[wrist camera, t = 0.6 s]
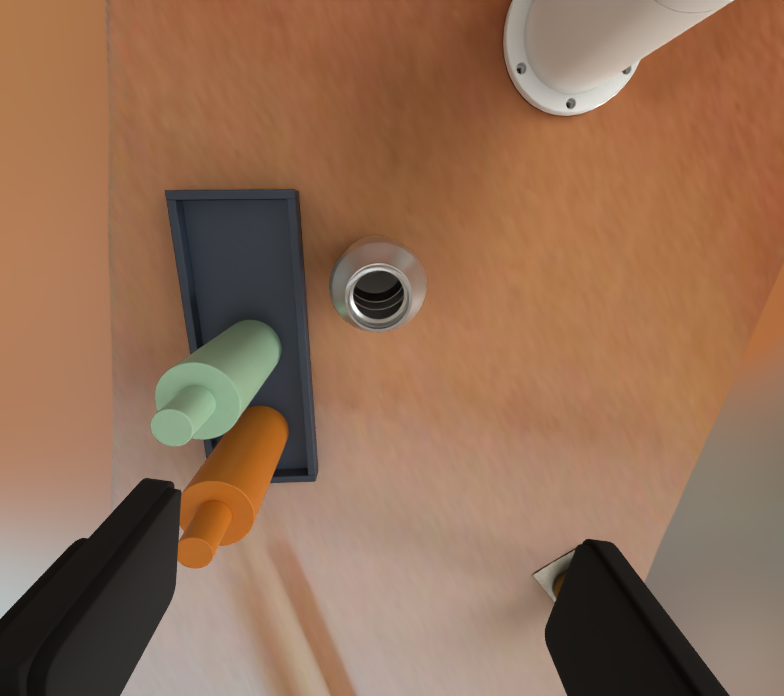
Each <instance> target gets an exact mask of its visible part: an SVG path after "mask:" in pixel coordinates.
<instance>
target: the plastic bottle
mask: <svg viewBox="0 0 784 696" xmlns="http://www.w3.org/2000/svg"><path fill="white" fill-rule="evenodd" d="M329 290H330V296H331V300H332V302H333V305H334V307H335V309H336V310H337V312H338V314H339V315H340V316H341V317H342V318H343V319H344V320H345V321H346V322H348V323H349V324H350V325H352V326H353V327H356V328H358V329H360V330H363V331H367V332H376V333H381V332H389V331H392V330H395V329H398V328H400V327H401V326H403V325H405V324H407V323H408V322H409V321H410V320H411V319H413V318H414V316H415V315H416V314H417V313H418V312H419V310H420V308H421V306H422V305H423V303H424V300H425V296H426V291H427V278H426V273H425V270H424V267H423V265H422V263H421V261H420V260H419V258H418V257H417V256H416V255H415V253H414V252H413V251H411V250H410V249H409V248H408V247H406V246H405V245H403V244H401V243H399V242H397V241H395V240H393V239H391V238H389V237H385V236H382V235H371V236H366V237H363V238H360V239H359V240H357V241H355V242H354V243H353V244H352V245H350V246H349V248H348V249H347V250H346V251H345V252H344V253H343V254H342V255H341V256H340V258H339V259H338V260H337V261H336V263H335V265H334V267H333V269H332V273H331V277H330V285H329Z"/></svg>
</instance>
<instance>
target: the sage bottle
mask: <svg viewBox="0 0 784 696" xmlns="http://www.w3.org/2000/svg"><path fill="white" fill-rule="evenodd" d="M281 352H282V347H281V342H280V339H279V337H278V335H277V334H276V332H275V331H274V330H273V329H272V328H271V327H270V326H268V325H267V324H265V323H263V322H260V321H256V320H244V321H240V322H238V323H236V324H234V325H233V326H231V327H230V328H228V329H227V330H225V331H224V332H223V333H221V334H220V335H218V336H217V337H215V338H214V339H212V340H211V341H209V342H208V343H207V344H205V345H204V346H202V347H201V348H199V349H198V350H196V351H195V352H194V353H192V354H191V355H189V356H188V357H186V358H185V359H183V360H182V361H181V362H179V363H178V364H176V365H175V366H173V367H172V368H170V369H169V370H168V371H166V372H165V373H164V374H163V375H162V377H161V378H160V380H159V382H158V384H157V386H156V390H155V404H156V408H157V410H158V412H157V413H156V414H155V415H154V416H153V418H152V420H151V431H152V434H153V435H154V437H155V438H156V439H157V440H158V441H159V442H161V443H163V444H165V445H168V446H181V445H183V444H185V443H187V442H188V441H189V440H190V439H191V438H192V439H211V438H215V437H218V436H221V435H223V434H224V433H226V432H227V431H229V430H230V429H231V428H232V427H233V426H234V424H235V423H236V422H237V420H238V419H239V417H240V416H241V414H242V413H243V412H244V410H245V409H246V407H247V406H248V405H249V403H250V402H251V400H252V399H253V397H254V396H255V395H256V393H257V392H258V390H259V389H260V388H261V386H262V385H263V383H264V382H265V380H266V379H267V378H268V376H269V375H270V373H271V372H272V371H273V369H274V368H275V366H276V365H277V363H278V362H279V360H280V357H281Z"/></svg>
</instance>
